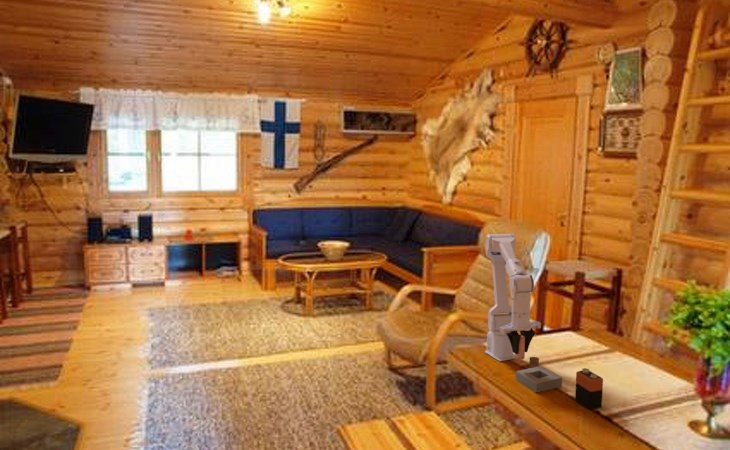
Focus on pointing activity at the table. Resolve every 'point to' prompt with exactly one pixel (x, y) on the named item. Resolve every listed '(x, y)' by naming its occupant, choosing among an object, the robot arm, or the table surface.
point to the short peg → (533, 362)
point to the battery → (589, 389)
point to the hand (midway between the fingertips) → (519, 352)
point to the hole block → (538, 379)
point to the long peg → (521, 349)
